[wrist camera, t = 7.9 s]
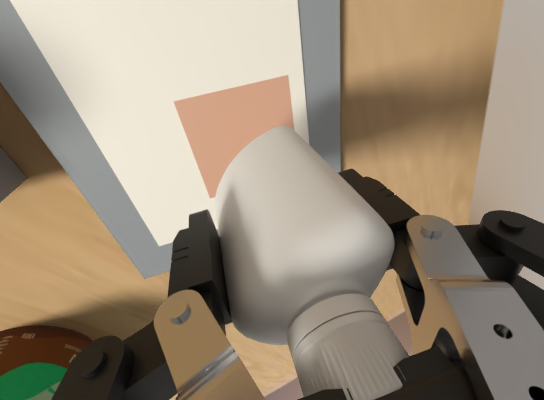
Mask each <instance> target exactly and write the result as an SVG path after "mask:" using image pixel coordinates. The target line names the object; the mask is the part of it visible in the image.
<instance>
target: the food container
mask: <svg viewBox="0 0 544 400" xmlns="http://www.w3.org/2000/svg"><path fill="white" fill-rule="evenodd" d="M92 342H93V341H92V340H91V339H89V338H88V337H87V336H85V335H83V334H81V333H79V332H76V331H73V330H69V329H65V328H60V327H51V326H28V327H19V328H13V329H8V330H4V331H1V332H0V400H51V399H52V397H53V395H54V393H55V392H56V390H57V388H58V386H59V384H60V382H61V380H62V378H63V377H64V375H65V373H66V371H67V369H68V367H69V366H70V364H71V362H72V361H73V360H74V358H75V357H76V356H77V355H78V354H79V353H80V352H81V351H82V350H83V349H84V348H85V347H86V346H88V345H89V344H90V343H92Z"/></svg>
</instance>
